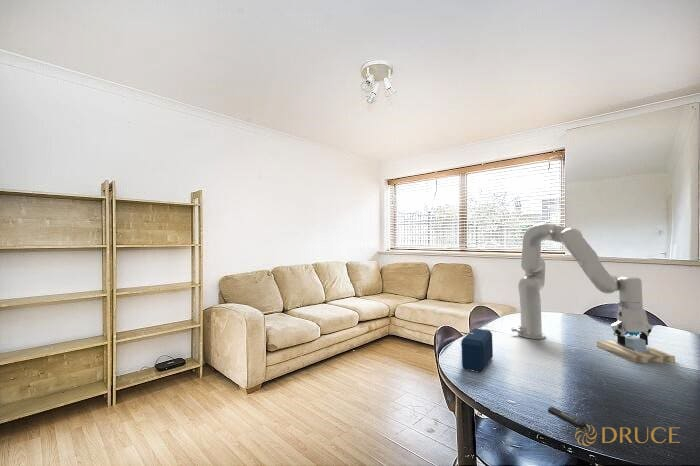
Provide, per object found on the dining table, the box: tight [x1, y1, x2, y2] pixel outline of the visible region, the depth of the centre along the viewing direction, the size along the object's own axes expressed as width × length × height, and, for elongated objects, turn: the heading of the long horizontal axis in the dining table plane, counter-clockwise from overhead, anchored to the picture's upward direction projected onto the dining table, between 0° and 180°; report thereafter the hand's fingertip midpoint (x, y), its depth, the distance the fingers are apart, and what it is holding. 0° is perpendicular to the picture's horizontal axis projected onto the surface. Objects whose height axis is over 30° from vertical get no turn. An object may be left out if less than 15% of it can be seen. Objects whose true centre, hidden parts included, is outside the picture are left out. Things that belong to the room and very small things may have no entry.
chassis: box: [596, 339, 676, 364], centre depth 135 cm, size 16×20×3 cm
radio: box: [461, 327, 494, 373], centre depth 128 cm, size 21×9×20 cm, turn 145°
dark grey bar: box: [547, 406, 587, 429], centre depth 88 cm, size 10×3×2 cm, turn 23°
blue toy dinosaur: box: [613, 327, 640, 337], centre depth 159 cm, size 11×6×10 cm
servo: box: [617, 334, 650, 352], centre depth 135 cm, size 5×11×7 cm, turn 178°
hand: (632, 344), depth 136 cm, fingers open, 9 cm apart
